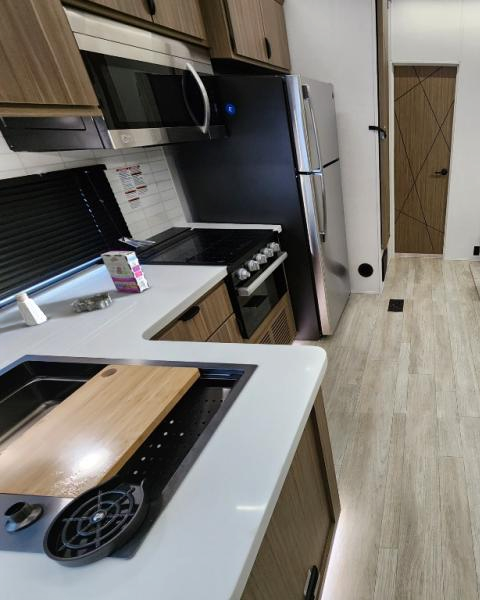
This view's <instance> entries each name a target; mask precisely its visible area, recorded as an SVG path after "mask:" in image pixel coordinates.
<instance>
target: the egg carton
mask: <svg viewBox="0 0 480 600" xmlns="http://www.w3.org/2000/svg"><path fill="white" fill-rule="evenodd" d="M109 294H110V292H109V291H103V292H100V293H99V294H95V295H93V296H88V297H84V298H82V297H81V298H77V299H75V300H74V301H72V302H71V303H69V305H71V306H72V307H73V309H74V311H75V312H77V313H81V312H83V311H87V310H88V311H93V310H95V309H99V310H102V309H105V308H107V307H109V304H110V303H111V304H112V302H113V300H112V299H111V297H110V296H109Z"/></svg>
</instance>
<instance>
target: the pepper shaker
mask: <svg viewBox="0 0 480 600" xmlns="http://www.w3.org/2000/svg"><path fill="white" fill-rule="evenodd" d="M14 298H15V300H16V301H17V302H16V305H17V308H18V311H19V313H20V314H21V316H22V318H23V321H24V323H25V325H26V326H37V325H40V324H42V323H45V322H47V320H48V317H47V316H46V314H45V313H44V312H43V311H42V310H41V308H40V306H38V305H37V304H36V302H34V300H33V299H32V298H29V296H28V294H27V293H26V292H20V293H17V294H15V295H14Z"/></svg>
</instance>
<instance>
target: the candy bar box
mask: <svg viewBox="0 0 480 600" xmlns="http://www.w3.org/2000/svg"><path fill="white" fill-rule="evenodd" d="M100 257H101V259H102V261H103V264H104V265H105V267H106V270H107V272H108V274H109V277H110V278H111V280H112V282H113V285H114V287H115V289H116V291H117V292H123V293H124V292H126V293H142V292H145V291H147V290H148V289H149V288H150V286H149V283H148V280H147V278H146V276H145V273H144V271H143V268H142V266H141V263H140V261H139V259H138V256H137V254H136V251H133V250H132V251H130V250H110V251H107V252H104V253H101V254H100Z"/></svg>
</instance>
